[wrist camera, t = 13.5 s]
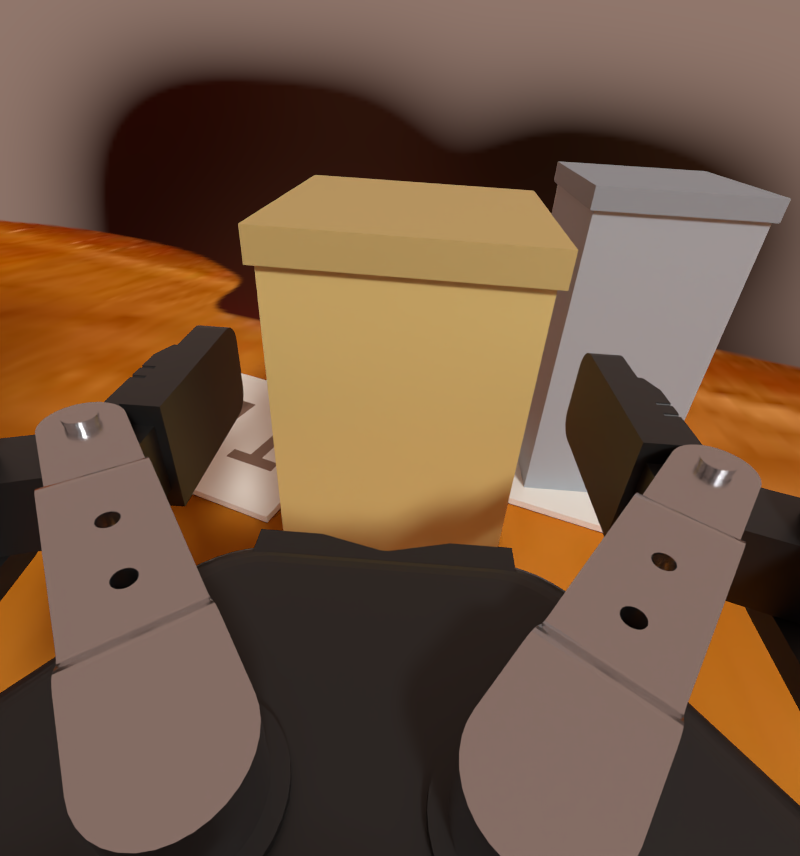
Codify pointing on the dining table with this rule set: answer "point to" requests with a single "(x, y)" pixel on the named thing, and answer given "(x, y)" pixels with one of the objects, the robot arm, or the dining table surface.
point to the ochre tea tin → (402, 352)
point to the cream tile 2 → (555, 503)
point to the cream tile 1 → (246, 459)
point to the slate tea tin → (641, 289)
